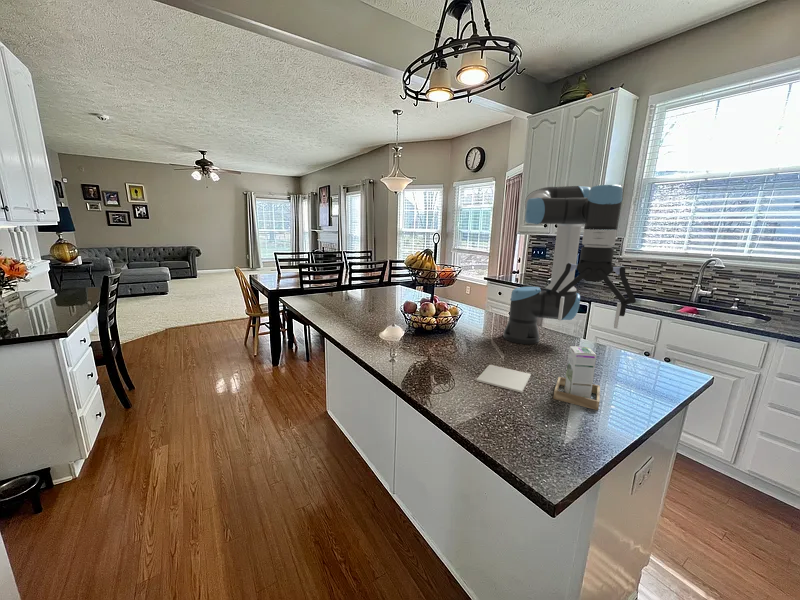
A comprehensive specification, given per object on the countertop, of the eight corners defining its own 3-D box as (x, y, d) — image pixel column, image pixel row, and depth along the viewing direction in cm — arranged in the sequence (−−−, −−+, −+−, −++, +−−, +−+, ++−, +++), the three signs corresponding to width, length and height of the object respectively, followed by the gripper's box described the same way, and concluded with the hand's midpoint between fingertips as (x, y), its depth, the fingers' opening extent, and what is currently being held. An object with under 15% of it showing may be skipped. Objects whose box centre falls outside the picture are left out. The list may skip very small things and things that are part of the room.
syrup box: (590, 402, 93) (598, 354, 90) (568, 399, 94) (575, 352, 91) (583, 392, 98) (590, 347, 95) (562, 390, 99) (569, 345, 96)
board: (489, 366, 116) (489, 364, 116) (530, 375, 109) (530, 374, 109) (476, 381, 104) (476, 379, 104) (521, 392, 97) (522, 391, 97)
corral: (557, 383, 104) (558, 376, 103) (598, 393, 98) (599, 385, 97) (553, 398, 94) (554, 390, 94) (598, 410, 88) (599, 401, 88)
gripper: (545, 244, 90) (536, 319, 94) (658, 249, 77) (642, 334, 82) (548, 244, 96) (541, 313, 101) (654, 248, 83) (640, 327, 88)
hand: (586, 323), depth 91 cm, fingers open, 13 cm apart
